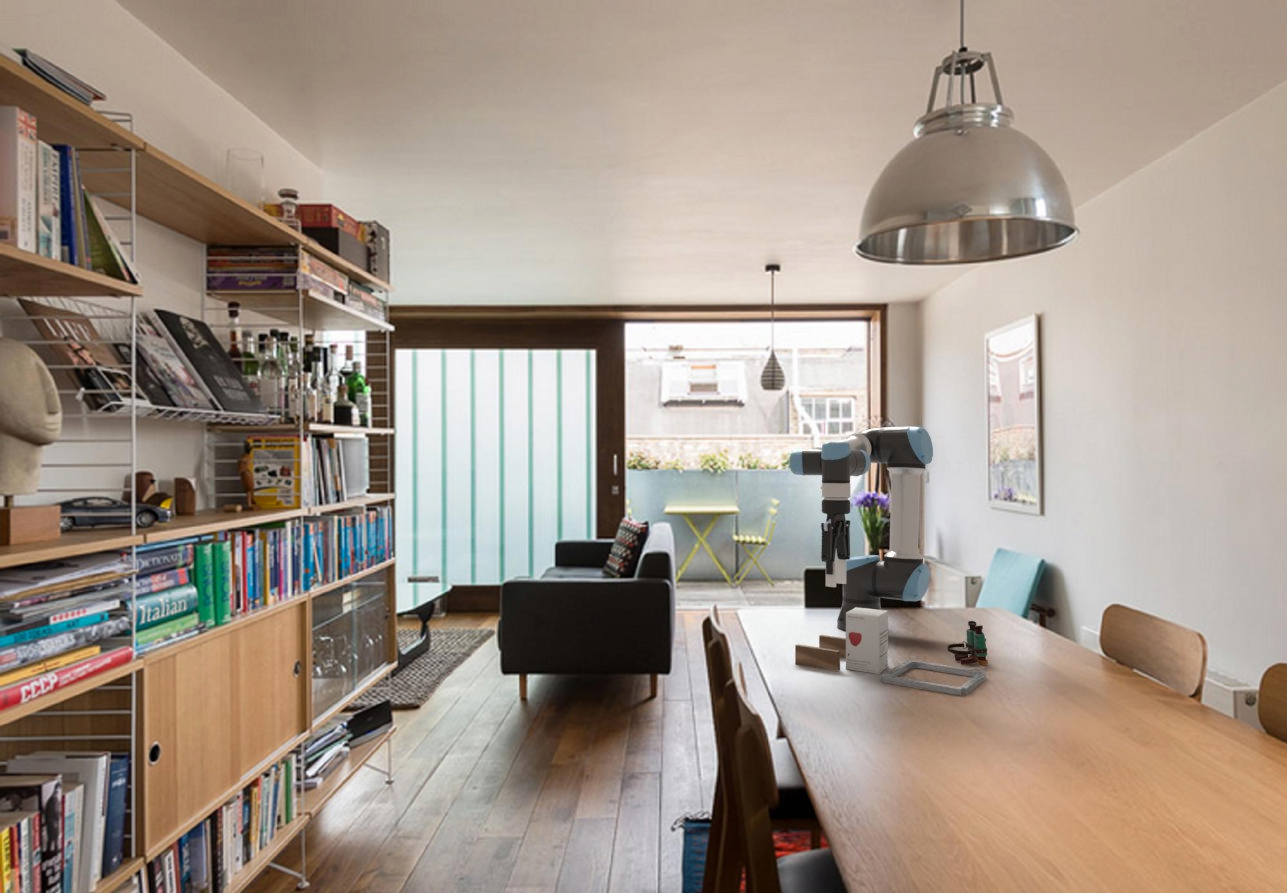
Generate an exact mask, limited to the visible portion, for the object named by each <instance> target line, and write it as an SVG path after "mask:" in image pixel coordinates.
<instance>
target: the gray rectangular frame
mask: <svg viewBox="0 0 1287 893" xmlns="http://www.w3.org/2000/svg"><path fill="white" fill-rule="evenodd" d="M913 668H914V669H922V670H928V671H934V672H938V673H939V672H940V673H947V674H952V675H957V676H958V675H959V676H966V677H971V678H970V679H968V680H966V681H965V683H963V684H962V685H960V686H953V685H947V684H941V683H935V682H930V681H923V680H919V679H918V680H917V679H911V678H906V677H899V676H900V675H902V674H903V673H905V672H907V671H909V670H910V669H913ZM986 680H987V672H986V671H985V670H979V669H973V668H972V669H971V668H966V667H959V666H953V665H945V664H940V663H934V662H928V661H921V660H914V659H911V660H905V661H903V662H902V663H900V664H898V665H896V666H895V667H893V668H891V669H889V670H887V671H886V672H884V673H882V674H881V681H882V683H883V684H884V683H885V684H891V685H894V686H902V687H906V686H907V687H908V688H913V689H917V690H924V691H931V692H936V693H943V694H946V695H947V694H949V695H952V694H953V695H954V696H958V695H960V696H959V697H961V696H963V695H965V696H967V695H969V693H971V692H972V691H973V690H974V689H976V688H977V687H979V685H981V684H982V683H984V682H985V681H986Z"/></svg>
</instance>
